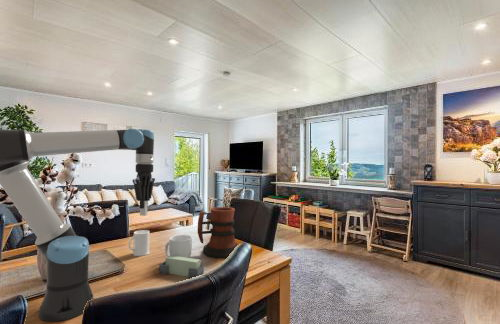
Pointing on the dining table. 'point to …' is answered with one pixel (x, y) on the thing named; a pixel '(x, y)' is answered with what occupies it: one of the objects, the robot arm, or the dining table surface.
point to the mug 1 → (140, 243)
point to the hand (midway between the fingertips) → (143, 215)
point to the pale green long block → (181, 265)
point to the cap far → (163, 268)
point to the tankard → (218, 232)
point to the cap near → (196, 271)
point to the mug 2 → (179, 246)
